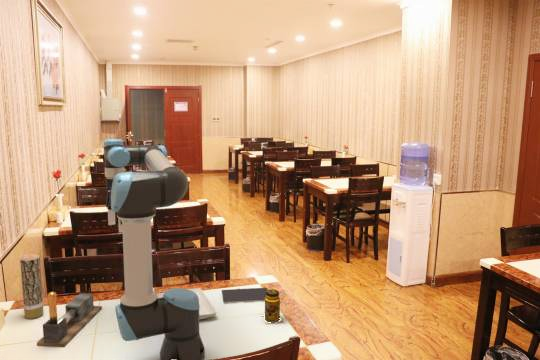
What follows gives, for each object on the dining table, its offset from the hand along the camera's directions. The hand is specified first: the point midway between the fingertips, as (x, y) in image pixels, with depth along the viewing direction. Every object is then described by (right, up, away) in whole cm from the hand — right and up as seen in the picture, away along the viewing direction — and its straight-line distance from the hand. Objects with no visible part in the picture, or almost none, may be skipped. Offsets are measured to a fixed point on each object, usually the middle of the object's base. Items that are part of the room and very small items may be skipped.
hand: (117, 228), depth 183 cm
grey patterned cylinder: (-33, -35, -3) cm, 48 cm away
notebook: (+52, -34, +18) cm, 65 cm away
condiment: (+64, -37, -2) cm, 74 cm away
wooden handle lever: (-14, -34, -17) cm, 40 cm away
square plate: (+24, -36, +3) cm, 43 cm away
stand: (-14, -37, -10) cm, 40 cm away
